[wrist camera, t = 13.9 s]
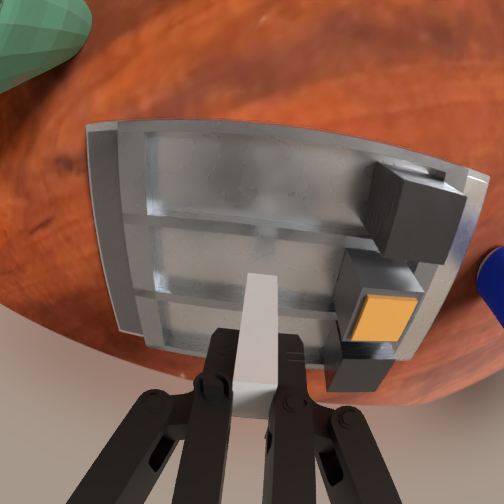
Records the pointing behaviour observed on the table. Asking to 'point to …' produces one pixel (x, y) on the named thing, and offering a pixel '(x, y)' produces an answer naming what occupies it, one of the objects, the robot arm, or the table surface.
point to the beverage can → (493, 282)
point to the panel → (270, 230)
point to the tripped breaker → (375, 297)
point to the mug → (39, 36)
